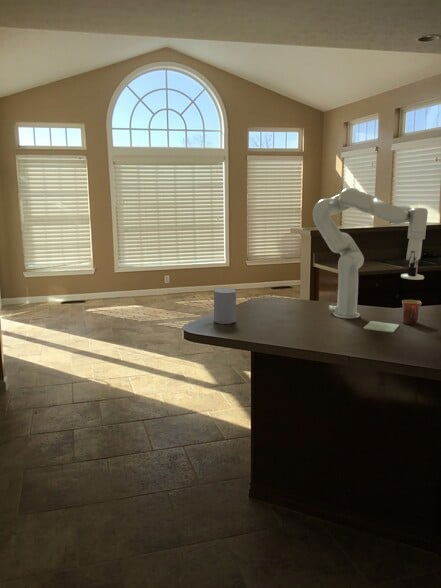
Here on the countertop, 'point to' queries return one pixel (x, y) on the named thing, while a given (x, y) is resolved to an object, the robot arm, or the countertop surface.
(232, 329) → the countertop surface
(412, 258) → the robot arm
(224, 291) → the container
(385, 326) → the mat
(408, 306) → the mug
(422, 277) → the lid
